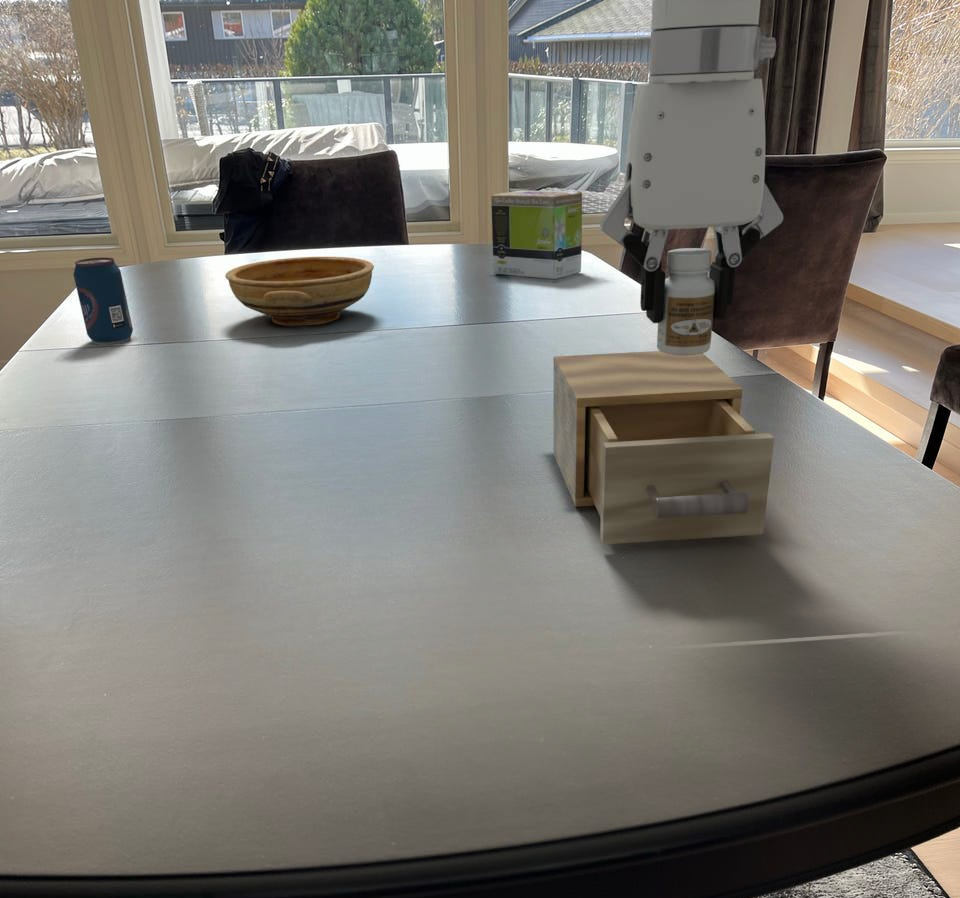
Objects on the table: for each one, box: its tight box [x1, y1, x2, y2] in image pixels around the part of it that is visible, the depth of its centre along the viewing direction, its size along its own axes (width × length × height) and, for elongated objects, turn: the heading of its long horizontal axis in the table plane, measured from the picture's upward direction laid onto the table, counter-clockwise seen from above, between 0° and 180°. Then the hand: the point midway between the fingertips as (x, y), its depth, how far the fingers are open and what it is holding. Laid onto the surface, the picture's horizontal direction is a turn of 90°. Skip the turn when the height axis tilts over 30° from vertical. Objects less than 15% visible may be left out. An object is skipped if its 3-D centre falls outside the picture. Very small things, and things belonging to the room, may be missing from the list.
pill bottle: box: [656, 247, 715, 356], centre depth 79 cm, size 4×4×8 cm
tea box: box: [490, 189, 583, 280], centre depth 189 cm, size 15×10×15 cm, turn 52°
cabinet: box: [552, 350, 743, 508], centre depth 93 cm, size 15×15×10 cm
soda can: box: [72, 256, 134, 346], centre depth 152 cm, size 7×7×12 cm
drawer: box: [584, 399, 775, 545], centre depth 82 cm, size 18×13×8 cm
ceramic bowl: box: [225, 256, 375, 327], centre depth 162 cm, size 30×24×8 cm
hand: (685, 315), depth 80 cm, fingers closed on pill bottle, 4 cm apart
